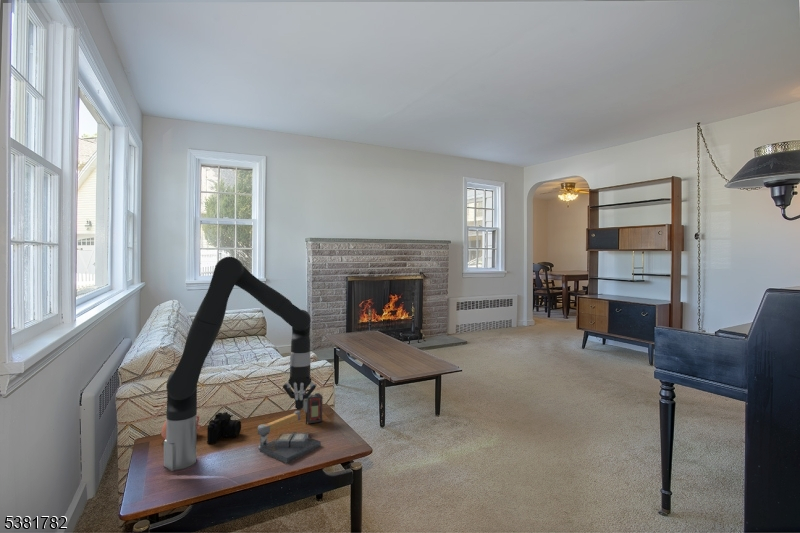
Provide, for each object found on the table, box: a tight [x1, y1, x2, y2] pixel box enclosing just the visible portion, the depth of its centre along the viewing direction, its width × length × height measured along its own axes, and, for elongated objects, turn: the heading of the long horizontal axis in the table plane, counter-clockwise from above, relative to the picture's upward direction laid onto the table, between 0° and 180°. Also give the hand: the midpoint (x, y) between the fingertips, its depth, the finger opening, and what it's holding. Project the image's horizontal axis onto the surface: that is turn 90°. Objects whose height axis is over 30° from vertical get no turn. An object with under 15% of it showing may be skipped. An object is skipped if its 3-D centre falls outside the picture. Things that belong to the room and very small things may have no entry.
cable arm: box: [257, 410, 301, 436], centre depth 157 cm, size 20×4×3 cm, turn 146°
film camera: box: [206, 411, 242, 445], centre depth 160 cm, size 15×10×9 cm, turn 177°
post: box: [257, 434, 268, 450], centre depth 151 cm, size 4×4×5 cm
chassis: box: [259, 431, 322, 464], centre depth 150 cm, size 16×15×4 cm
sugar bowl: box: [160, 414, 202, 440], centre depth 160 cm, size 12×14×10 cm
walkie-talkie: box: [302, 389, 324, 425], centre depth 173 cm, size 9×4×20 cm, turn 113°
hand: (299, 409), depth 151 cm, fingers closed
